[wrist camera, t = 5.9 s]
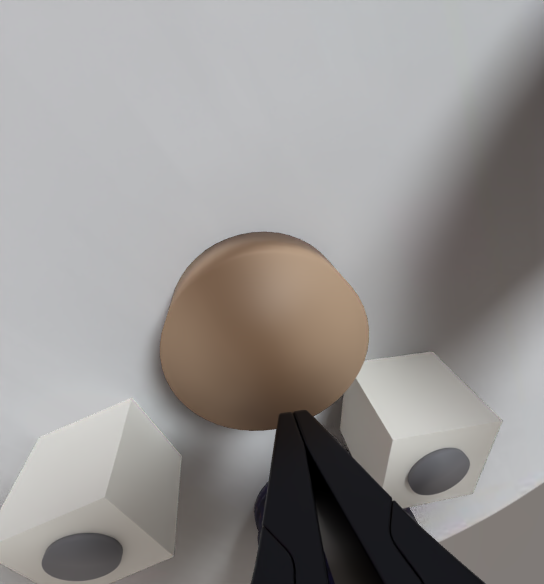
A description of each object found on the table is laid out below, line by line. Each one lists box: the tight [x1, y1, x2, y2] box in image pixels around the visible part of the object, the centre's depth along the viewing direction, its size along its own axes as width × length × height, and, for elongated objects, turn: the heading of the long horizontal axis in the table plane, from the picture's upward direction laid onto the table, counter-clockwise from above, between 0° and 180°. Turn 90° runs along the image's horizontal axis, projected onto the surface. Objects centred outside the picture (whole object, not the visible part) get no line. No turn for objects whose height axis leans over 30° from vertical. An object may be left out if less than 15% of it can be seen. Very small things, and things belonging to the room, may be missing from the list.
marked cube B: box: [0, 398, 182, 584], centre depth 15 cm, size 5×5×5 cm
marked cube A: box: [340, 351, 502, 508], centre depth 17 cm, size 5×5×5 cm
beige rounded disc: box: [160, 232, 369, 431], centre depth 14 cm, size 8×8×3 cm
